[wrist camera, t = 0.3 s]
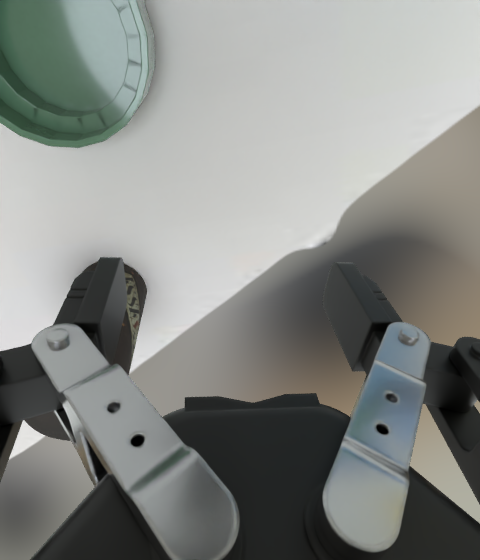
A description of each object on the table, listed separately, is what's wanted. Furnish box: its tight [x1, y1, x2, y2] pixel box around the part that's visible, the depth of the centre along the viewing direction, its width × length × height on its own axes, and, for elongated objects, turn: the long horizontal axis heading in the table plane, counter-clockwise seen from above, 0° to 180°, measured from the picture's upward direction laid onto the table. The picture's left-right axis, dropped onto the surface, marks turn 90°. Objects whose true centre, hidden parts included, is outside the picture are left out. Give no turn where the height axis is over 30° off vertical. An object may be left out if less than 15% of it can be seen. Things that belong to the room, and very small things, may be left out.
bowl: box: [0, 0, 155, 148], centre depth 29 cm, size 15×15×6 cm
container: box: [25, 263, 147, 441], centre depth 39 cm, size 9×9×20 cm
